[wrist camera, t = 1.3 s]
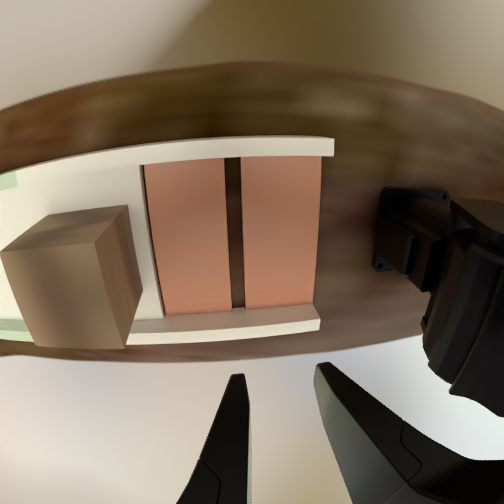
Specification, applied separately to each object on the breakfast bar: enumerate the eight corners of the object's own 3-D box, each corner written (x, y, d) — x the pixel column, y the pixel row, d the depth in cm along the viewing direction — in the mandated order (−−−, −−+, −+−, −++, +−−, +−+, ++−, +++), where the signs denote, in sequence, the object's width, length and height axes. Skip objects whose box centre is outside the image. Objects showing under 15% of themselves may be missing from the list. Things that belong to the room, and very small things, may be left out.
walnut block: (127, 204, 17) (94, 242, 12) (143, 289, 20) (124, 349, 14) (47, 214, 17) (-2, 252, 11) (68, 293, 19) (35, 345, 14)
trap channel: (319, 136, 18) (334, 138, 16) (309, 311, 23) (318, 330, 21) (-53, 190, 14) (-70, 199, 12) (-11, 321, 20) (-22, 336, 18)
